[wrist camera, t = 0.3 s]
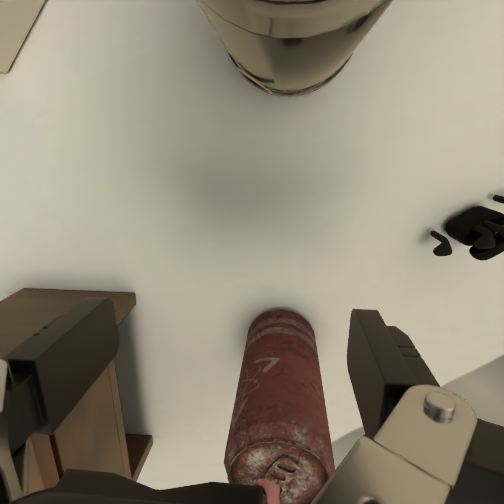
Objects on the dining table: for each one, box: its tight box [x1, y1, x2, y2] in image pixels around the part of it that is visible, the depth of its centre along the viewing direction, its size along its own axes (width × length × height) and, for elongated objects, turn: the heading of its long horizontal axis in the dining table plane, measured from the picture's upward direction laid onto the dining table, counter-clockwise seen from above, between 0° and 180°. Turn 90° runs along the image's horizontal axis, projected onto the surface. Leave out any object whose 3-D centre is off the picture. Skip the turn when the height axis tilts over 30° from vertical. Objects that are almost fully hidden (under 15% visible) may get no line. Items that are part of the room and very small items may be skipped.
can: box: [224, 310, 335, 504], centre depth 24 cm, size 6×6×14 cm
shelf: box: [0, 288, 153, 494], centre depth 28 cm, size 18×11×14 cm, turn 0°
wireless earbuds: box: [430, 195, 504, 260], centre depth 24 cm, size 7×2×5 cm, turn 125°
